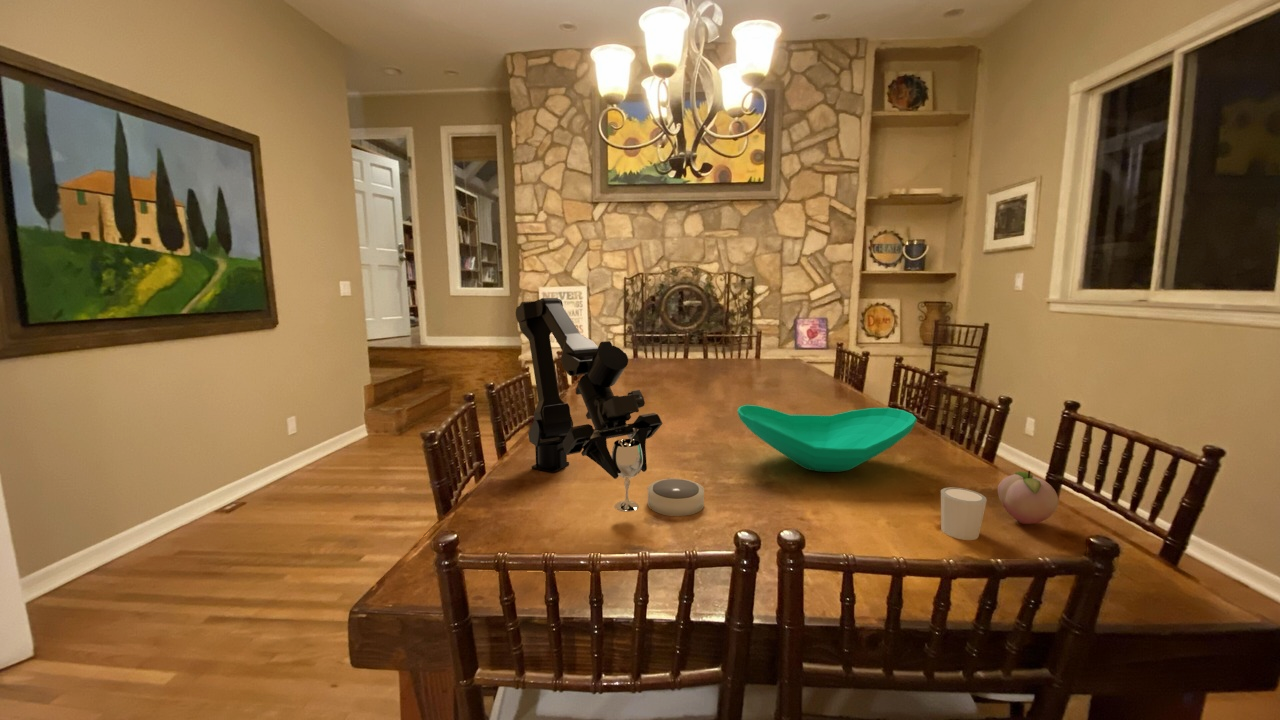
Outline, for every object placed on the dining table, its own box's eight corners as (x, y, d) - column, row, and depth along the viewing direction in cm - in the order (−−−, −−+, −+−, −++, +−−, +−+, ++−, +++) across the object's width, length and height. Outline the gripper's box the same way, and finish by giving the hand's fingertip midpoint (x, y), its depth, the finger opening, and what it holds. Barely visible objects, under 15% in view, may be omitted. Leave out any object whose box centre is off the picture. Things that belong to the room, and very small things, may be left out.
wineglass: (639, 515, 92) (639, 449, 90) (607, 511, 94) (607, 446, 92) (645, 501, 98) (646, 439, 96) (615, 498, 99) (615, 436, 97)
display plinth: (638, 509, 101) (638, 492, 101) (661, 488, 111) (661, 473, 110) (692, 520, 96) (692, 503, 96) (711, 498, 106) (711, 482, 106)
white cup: (928, 524, 95) (931, 487, 94) (964, 522, 96) (968, 486, 95) (954, 542, 89) (957, 503, 88) (992, 541, 89) (996, 502, 88)
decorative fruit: (1066, 538, 90) (1073, 482, 89) (1013, 534, 92) (1019, 479, 90) (1035, 514, 99) (1042, 463, 98) (988, 510, 101) (993, 460, 99)
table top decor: (742, 487, 112) (744, 426, 110) (730, 446, 139) (731, 397, 137) (937, 493, 109) (942, 431, 107) (885, 450, 136) (889, 400, 134)
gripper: (568, 382, 90) (601, 463, 83) (657, 371, 100) (693, 443, 93) (550, 416, 98) (578, 493, 90) (634, 403, 108) (665, 471, 101)
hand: (631, 474), depth 94 cm, fingers closed on wineglass, 6 cm apart
